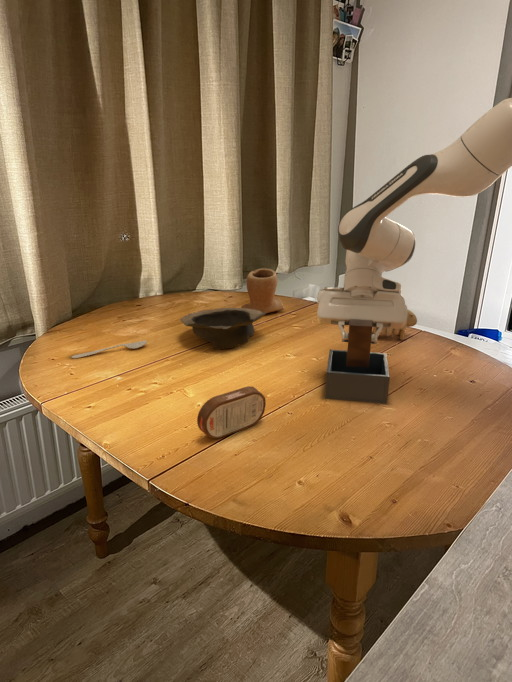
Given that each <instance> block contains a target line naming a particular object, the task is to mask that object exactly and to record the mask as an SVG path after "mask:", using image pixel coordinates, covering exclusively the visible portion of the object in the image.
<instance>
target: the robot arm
mask: <svg viewBox="0 0 512 682" xmlns="http://www.w3.org/2000/svg"><path fill="white" fill-rule="evenodd" d="M511 167H512V97H508V98H505V99H503V100H502V101H500V102H498V103H497V104H496V105H494V106H493V107H492V108H490V109H489V110H488V111H486V112H485V113H483V115H481V116H480V117H479V118H478V119H477V120H476V121H475V122H473V123H472V124H471V125H470V126H469V127H468V128H467V129H466V130H465V131H464V132H463V133H462V134H461V135H460V136H459V137H458V138H457V139H456V140H455V141H453V142H452V143H451V144H449V145H447V146H446V147H445V148H443V149H440V150H439V151H437V152H434V153H432V154H424V155H422V156H420V157H418V158H416V159H414V161H412V162H411V163H409V164H408V165H407V166H406V167H404V168H403V169H402V170H400V171H399V172H398V173H397V174H395V176H393V177H392V178H391V179H389V181H387V182H386V183H385V184H383V185H382V186H381V187H379V189H377V190H376V191H375V192H373V194H371V195H370V196H369V197H368V198H367V199H365V200H363V201H361V202H360V203H358V204H356V205H355V206H353V207H352V208H350V209H349V210H348V211H346V212H345V213H344V215H343V216H342V217H341V219H340V220H339V223H338V226H337V236H338V239H339V242H340V245H341V247H342V248H343V249H344V250H346V251H345V267H346V270H345V273H344V277H343V279H344V280H343V287H330V286H325V287H324V288H321V289H319V290H318V292H317V299H316V300H317V302H318V306H317V311H316V320H317V322H318V323H319V324H320V325H331V326H337V330H338V331H339V334H340V335H341V342H342V343H348V336H349V332H346V330H345V326H348V327H349V320H350V319H360V320H372V328H373V327H376V333H375V334H374V333H372V337H371V345H377V344H378V338H379V336H380V335H381V334H380V333H381V332H382V329H383V328H396V329H401V328H403V327H404V326H405V324H406V318H407V315H406V306H407V304H406V300H405V298H404V296H403V295H402V284H401V283H400V282H398V281H395V280H392V279H388V278H386V277H384V276H382V275H383V273H384V272H391V271H393V270H396V269H399V268H400V267H403V266H405V265H406V264H407V263H409V262H410V260H412V257H413V255H414V254H415V253H414V252H415V248H416V237H415V236H416V235H415V234H414V232H413V231H412V230H410V229H409V228H407V227H406V226H404V225H402V224H400V223H398V222H397V221H393V220H392V219H390V218H388V217H387V216H389V215H390V214H391V213H392V212H394V211H396V209H398V208H399V207H400V206H402V205H403V204H405V202H407V201H408V200H410V199H412V198H414V197H417V196H421V195H440V196H447V197H448V196H449V197H453V198H469V197H473V196H477V195H479V194H480V193H482V192H484V191H485V190H487V189H488V188H489V187H491V186H492V185H493V184H494V183H495V182H496V181H497V180H498V179H499V178H500V177H502V176H503V175H504V174H505V173H506V172H507V171H508V170H509V169H511ZM405 304H406V305H405Z"/></svg>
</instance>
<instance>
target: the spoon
mask: <svg viewBox="0 0 512 682" xmlns="http://www.w3.org/2000/svg"><path fill="white" fill-rule="evenodd" d="M147 343H148V341H147V340H140V341H135V342H130V343H121V344H120V343H119V344H117V345H113V346H109V347H104V348H102V349H96V350H93V351H88V352H84V353H79V354H74V355H72V356H71V358H72V359H81V358H85V357H89V356H92V355H97V354H100V353H103V352H105V351H108V350H111V349H112V350H113V349H115V348H119V347H126V348H128V349H139V348H141V347H143V346H145V345H146V344H147Z"/></svg>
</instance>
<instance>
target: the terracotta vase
mask: <svg viewBox="0 0 512 682" xmlns="http://www.w3.org/2000/svg"><path fill="white" fill-rule="evenodd" d="M278 280H279V279H278V276H277V272H276V271H275V270H274V269H272V268H265V267H264V268H262V267H261V268H256V269H254V270H251V271H250V272H249V273H248V274H247V275H246V290H247V294H248V297H249V302H248V303H244V304H242V305H241V307H240V308H245V309H253V310H258V311H261V313H262V312H267V313H266V314H269V313H273V312H278V311H283V310H284V309H285V307H284V306H285V305H284V304H283V303H282V300H281V298H279V297H275V294H276V291H277V287H278V283H279V282H278Z"/></svg>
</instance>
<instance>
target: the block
mask: <svg viewBox="0 0 512 682" xmlns="http://www.w3.org/2000/svg"><path fill="white" fill-rule="evenodd" d="M348 333H349V336H348V342H347V349H346V351H347V364H346V366H352V367H366V368H369V360H370V352H371V347H372V344H371V337H372V334H373V327H372V320H360V319H350V320H349V326H348Z"/></svg>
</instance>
